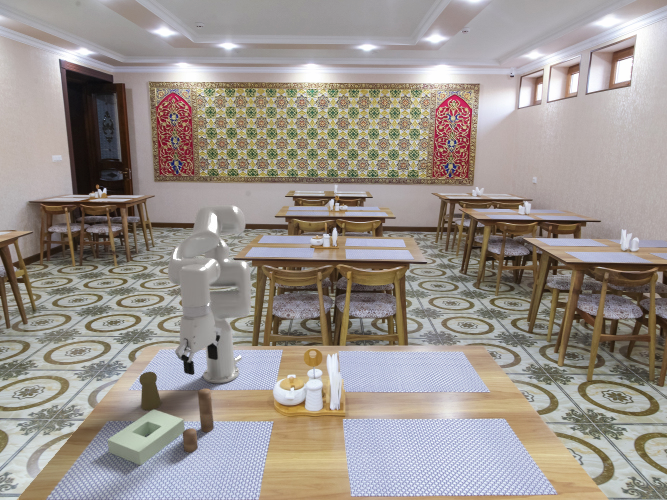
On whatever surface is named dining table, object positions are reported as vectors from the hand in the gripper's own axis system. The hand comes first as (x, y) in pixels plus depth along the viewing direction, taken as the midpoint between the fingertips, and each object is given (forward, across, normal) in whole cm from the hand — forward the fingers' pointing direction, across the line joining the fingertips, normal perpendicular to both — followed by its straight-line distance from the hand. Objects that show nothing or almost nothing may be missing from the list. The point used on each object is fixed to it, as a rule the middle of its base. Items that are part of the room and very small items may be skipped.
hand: (201, 366), depth 132 cm
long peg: (+20, 0, 0) cm, 20 cm away
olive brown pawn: (+20, -2, -25) cm, 32 cm away
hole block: (+20, +12, -11) cm, 26 cm away
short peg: (+20, +9, +2) cm, 22 cm away
